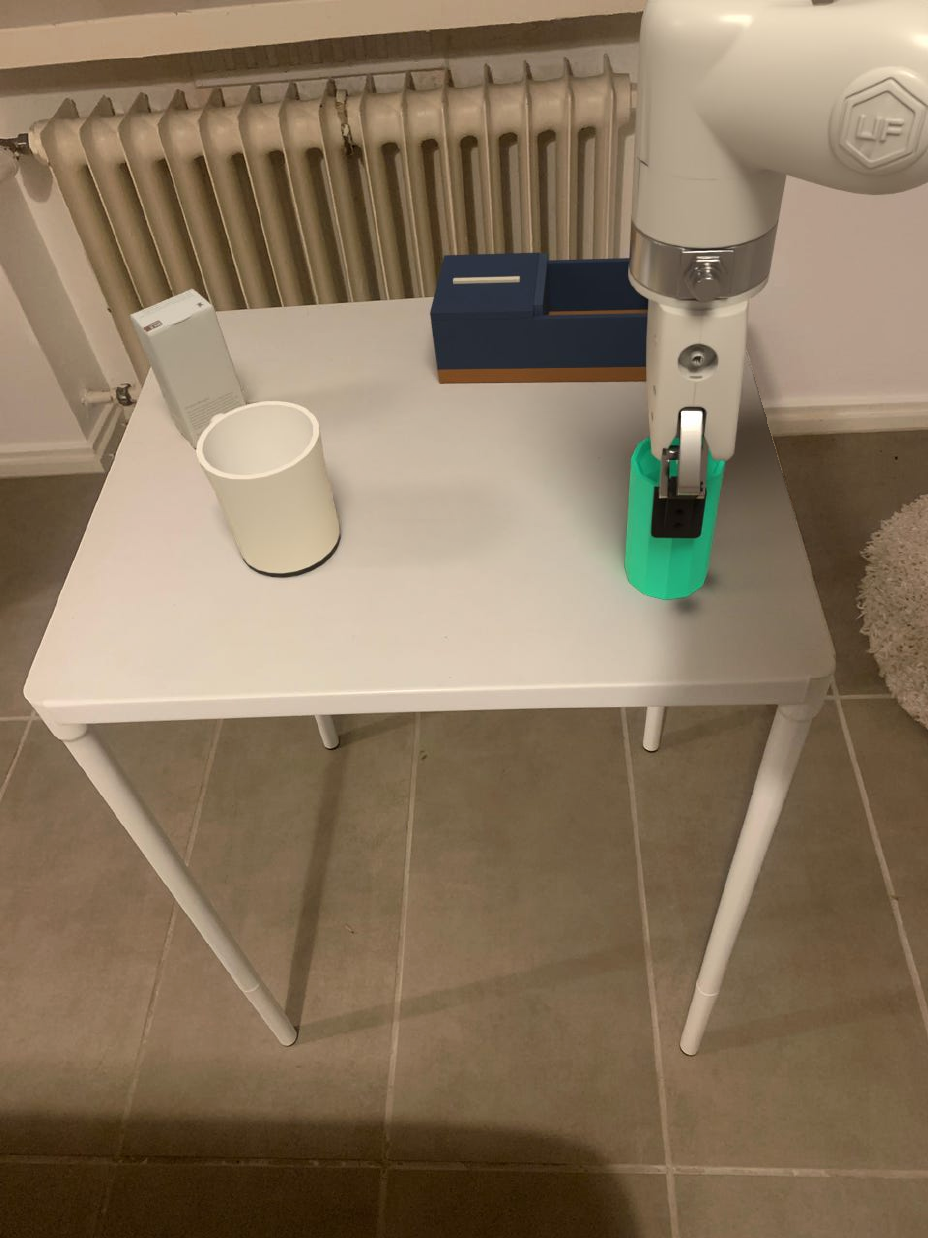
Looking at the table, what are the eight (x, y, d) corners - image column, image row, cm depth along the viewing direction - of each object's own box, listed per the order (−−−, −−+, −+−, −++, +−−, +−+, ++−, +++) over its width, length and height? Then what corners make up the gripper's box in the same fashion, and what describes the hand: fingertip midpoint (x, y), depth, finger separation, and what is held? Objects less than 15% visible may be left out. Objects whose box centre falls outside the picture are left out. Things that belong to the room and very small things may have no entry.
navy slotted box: (655, 320, 90) (660, 245, 84) (658, 381, 83) (664, 304, 78) (451, 324, 93) (443, 251, 87) (439, 383, 86) (429, 309, 80)
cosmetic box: (233, 402, 87) (193, 283, 78) (255, 424, 85) (216, 303, 75) (173, 430, 85) (126, 311, 76) (194, 453, 82) (147, 333, 73)
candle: (708, 602, 66) (729, 471, 57) (622, 597, 67) (630, 468, 58) (707, 542, 70) (727, 411, 61) (626, 539, 71) (634, 409, 62)
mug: (369, 537, 73) (344, 432, 66) (280, 600, 70) (243, 497, 62) (286, 479, 79) (255, 376, 71) (200, 534, 75) (157, 433, 68)
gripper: (792, 337, 43) (740, 595, 57) (757, 172, 55) (721, 421, 68) (630, 339, 45) (617, 592, 58) (628, 178, 56) (617, 422, 69)
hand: (673, 498), depth 63 cm, fingers closed on candle, 6 cm apart
